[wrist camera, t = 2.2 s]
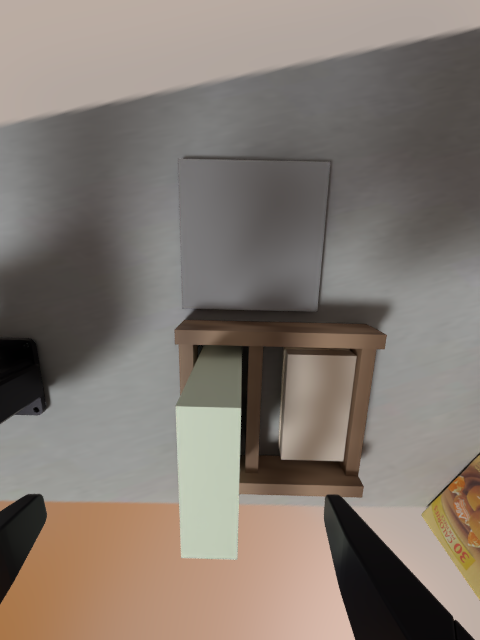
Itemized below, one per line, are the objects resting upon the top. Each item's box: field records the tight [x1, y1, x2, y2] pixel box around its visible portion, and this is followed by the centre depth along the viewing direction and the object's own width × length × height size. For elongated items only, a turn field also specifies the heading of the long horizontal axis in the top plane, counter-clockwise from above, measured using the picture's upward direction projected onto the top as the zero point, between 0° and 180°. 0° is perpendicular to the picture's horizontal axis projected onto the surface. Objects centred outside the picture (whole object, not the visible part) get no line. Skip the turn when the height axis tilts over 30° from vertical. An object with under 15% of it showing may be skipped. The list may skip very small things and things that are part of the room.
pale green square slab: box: [176, 345, 242, 559], centre depth 17 cm, size 3×9×9 cm, turn 179°
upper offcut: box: [279, 349, 357, 461], centre depth 21 cm, size 5×9×1 cm, turn 179°
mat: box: [178, 159, 330, 312], centre depth 19 cm, size 10×10×1 cm
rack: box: [175, 320, 387, 497], centre depth 20 cm, size 14×13×3 cm
